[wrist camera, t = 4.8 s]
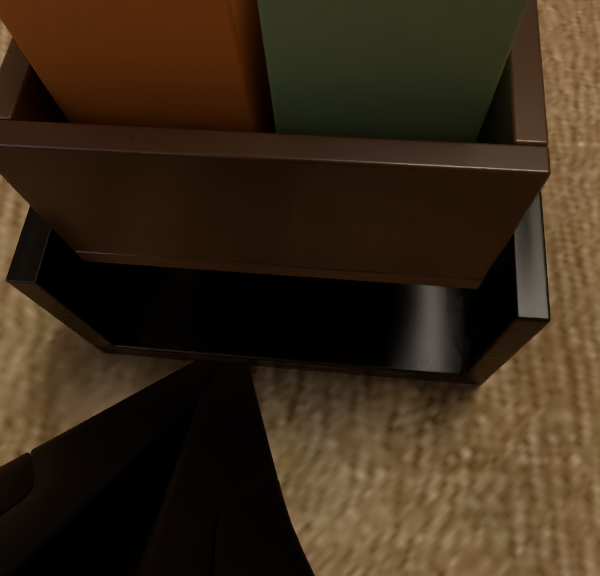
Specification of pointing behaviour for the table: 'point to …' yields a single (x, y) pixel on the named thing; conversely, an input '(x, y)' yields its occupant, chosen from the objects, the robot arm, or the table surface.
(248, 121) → the orange carton
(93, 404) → the table surface
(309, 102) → the green carton
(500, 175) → the bin
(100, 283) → the bin frame
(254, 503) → the robot arm
